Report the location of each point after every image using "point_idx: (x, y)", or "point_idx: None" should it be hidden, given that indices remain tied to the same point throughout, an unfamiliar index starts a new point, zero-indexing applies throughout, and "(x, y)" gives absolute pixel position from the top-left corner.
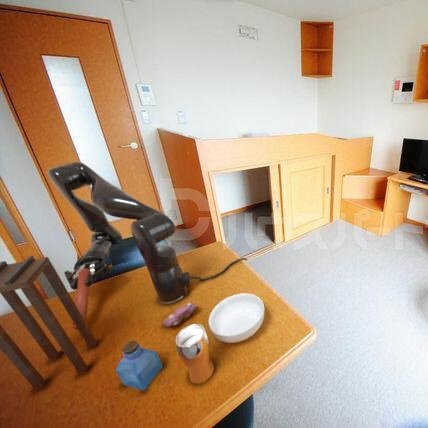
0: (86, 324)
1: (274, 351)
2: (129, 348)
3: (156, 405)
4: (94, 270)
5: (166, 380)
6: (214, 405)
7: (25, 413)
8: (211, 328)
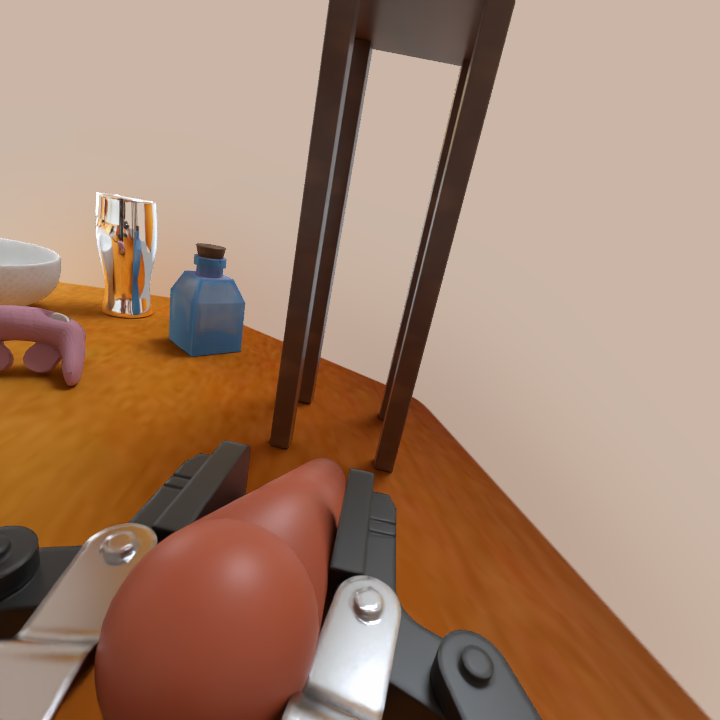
0: (282, 349)
1: None
2: (213, 245)
3: None
4: (17, 638)
5: None
6: (155, 296)
7: None
8: (51, 261)
